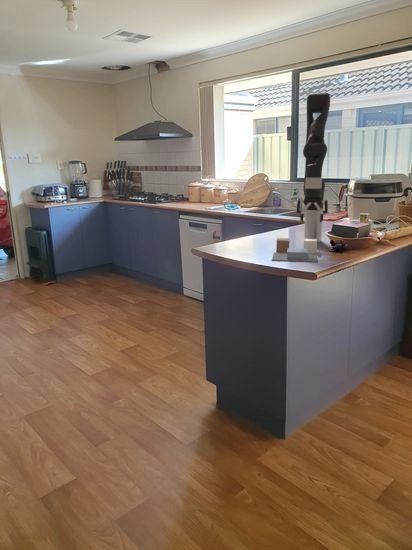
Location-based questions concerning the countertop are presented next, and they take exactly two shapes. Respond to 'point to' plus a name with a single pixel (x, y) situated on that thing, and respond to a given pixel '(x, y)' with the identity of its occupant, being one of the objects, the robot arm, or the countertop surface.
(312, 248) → the white block
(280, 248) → the walnut block
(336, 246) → the toy
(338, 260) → the countertop surface
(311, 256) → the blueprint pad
